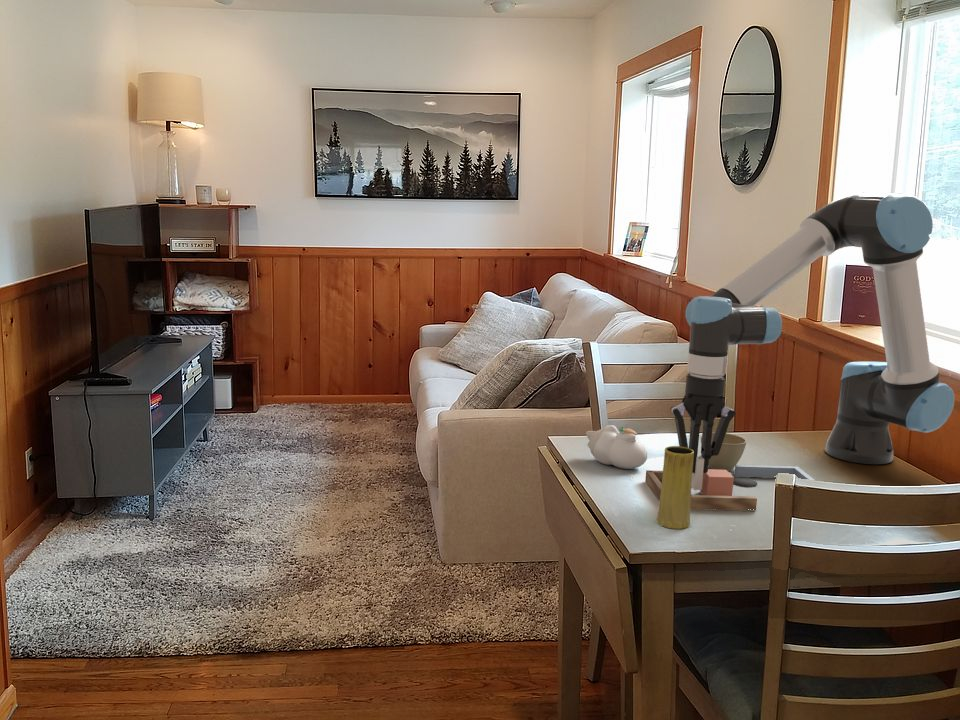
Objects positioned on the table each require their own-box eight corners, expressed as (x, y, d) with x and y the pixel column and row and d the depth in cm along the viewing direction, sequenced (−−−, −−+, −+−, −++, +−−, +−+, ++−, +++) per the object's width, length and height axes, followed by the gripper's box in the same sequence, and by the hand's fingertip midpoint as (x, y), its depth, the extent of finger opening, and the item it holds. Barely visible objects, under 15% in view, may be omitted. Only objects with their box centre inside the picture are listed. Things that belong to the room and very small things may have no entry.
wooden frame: (729, 483, 194) (730, 472, 194) (755, 510, 178) (757, 498, 178) (645, 481, 193) (646, 470, 193) (664, 508, 177) (665, 496, 177)
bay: (796, 476, 201) (797, 466, 201) (815, 492, 191) (816, 481, 191) (734, 475, 200) (735, 465, 200) (749, 490, 190) (750, 479, 190)
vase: (695, 523, 170) (702, 450, 167) (679, 532, 165) (686, 456, 163) (667, 515, 174) (673, 443, 171) (650, 523, 169) (656, 449, 167)
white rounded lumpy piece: (653, 430, 199) (593, 411, 207) (636, 455, 194) (575, 434, 202) (655, 460, 205) (596, 440, 213) (639, 484, 200) (580, 463, 208)
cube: (723, 492, 189) (726, 469, 188) (731, 501, 184) (733, 477, 183) (700, 492, 188) (702, 469, 187) (707, 500, 183) (709, 476, 183)
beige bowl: (745, 477, 199) (748, 445, 198) (698, 472, 201) (701, 441, 200) (741, 464, 209) (744, 434, 208) (697, 460, 211) (699, 430, 209)
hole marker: (752, 479, 198) (752, 477, 198) (760, 487, 193) (761, 485, 193) (727, 478, 198) (727, 477, 198) (735, 486, 193) (736, 485, 193)
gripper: (732, 371, 185) (721, 482, 190) (669, 369, 184) (660, 481, 189) (744, 379, 178) (733, 494, 182) (678, 377, 177) (669, 493, 182)
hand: (696, 487), depth 186 cm, fingers closed
